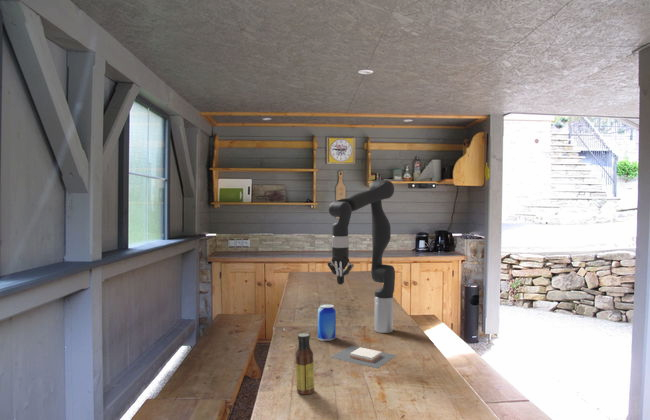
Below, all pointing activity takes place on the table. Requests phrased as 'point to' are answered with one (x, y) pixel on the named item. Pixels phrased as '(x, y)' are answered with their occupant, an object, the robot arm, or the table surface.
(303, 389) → the sauce bottle
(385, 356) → the mat
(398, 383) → the table surface
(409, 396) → the table surface
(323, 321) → the beer can
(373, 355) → the tile
